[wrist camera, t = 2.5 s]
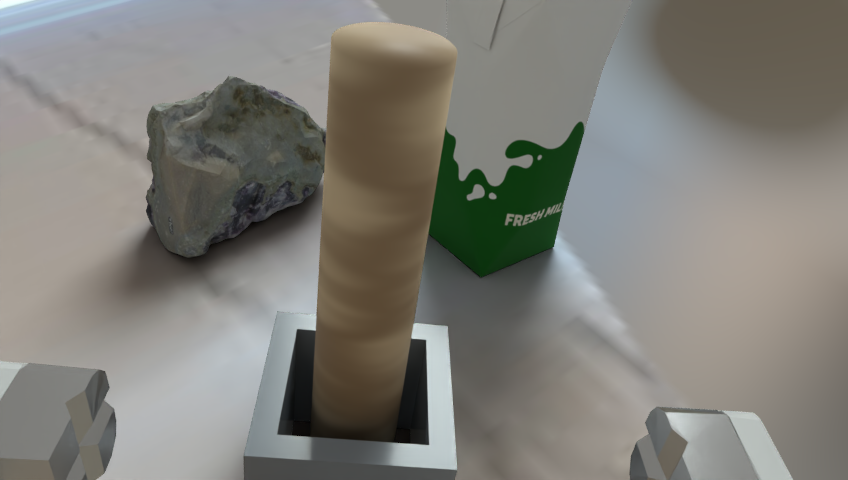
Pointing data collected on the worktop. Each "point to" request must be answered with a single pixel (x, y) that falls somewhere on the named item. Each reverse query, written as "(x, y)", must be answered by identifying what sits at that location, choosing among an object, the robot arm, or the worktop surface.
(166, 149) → the mineral rock
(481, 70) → the milk carton
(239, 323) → the worktop surface
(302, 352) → the open box
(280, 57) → the worktop surface
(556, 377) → the worktop surface
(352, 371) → the dowel
